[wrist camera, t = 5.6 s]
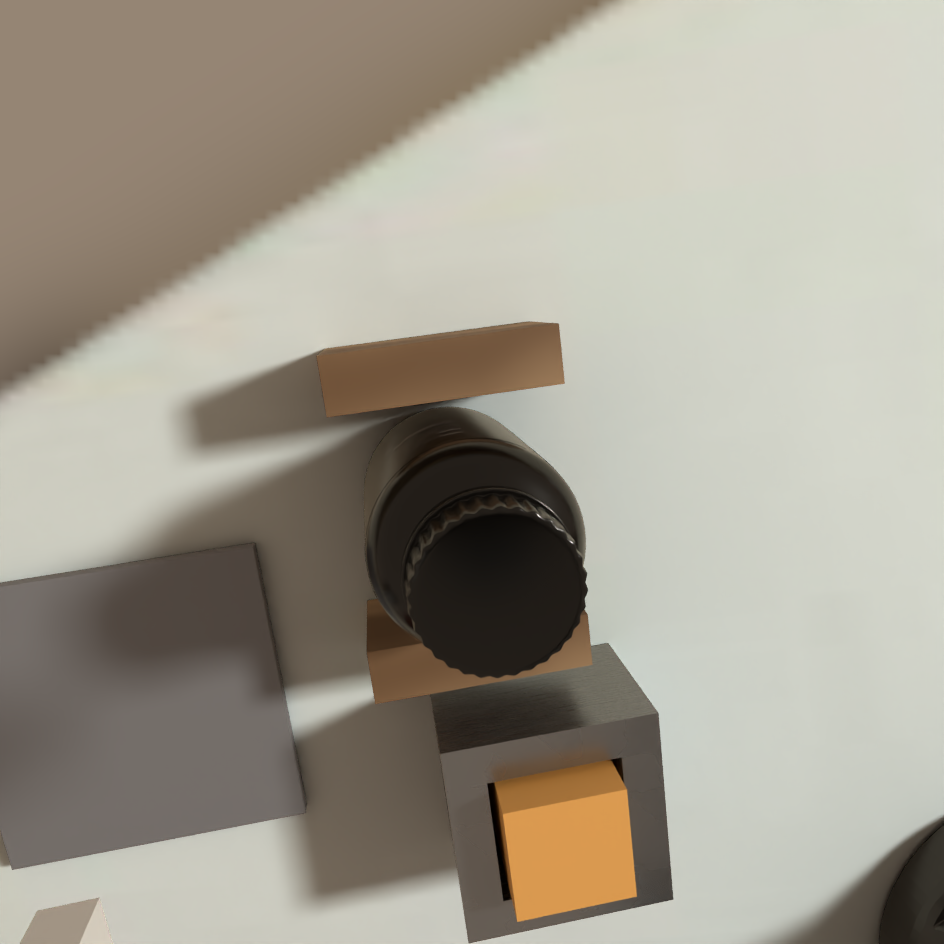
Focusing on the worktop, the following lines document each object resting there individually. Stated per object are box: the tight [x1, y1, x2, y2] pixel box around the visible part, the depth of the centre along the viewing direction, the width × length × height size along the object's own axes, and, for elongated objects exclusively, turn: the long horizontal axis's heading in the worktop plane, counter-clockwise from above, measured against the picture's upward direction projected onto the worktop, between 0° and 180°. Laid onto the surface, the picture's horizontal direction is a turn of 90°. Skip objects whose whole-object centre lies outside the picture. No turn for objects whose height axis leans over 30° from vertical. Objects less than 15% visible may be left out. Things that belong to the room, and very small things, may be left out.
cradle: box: [316, 322, 593, 704], centre depth 29 cm, size 12×8×5 cm, turn 7°
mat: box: [0, 543, 307, 870], centre depth 31 cm, size 12×12×1 cm
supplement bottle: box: [364, 407, 588, 678], centre depth 25 cm, size 7×7×12 cm
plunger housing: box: [430, 643, 673, 943], centre depth 31 cm, size 8×8×6 cm
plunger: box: [487, 760, 637, 922], centre depth 30 cm, size 4×4×6 cm
